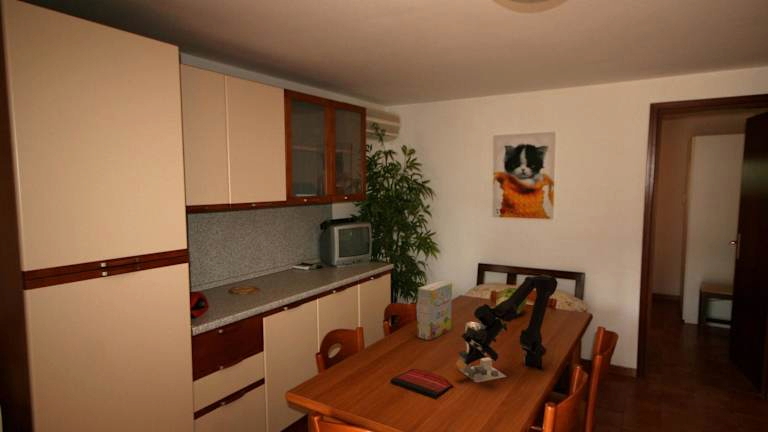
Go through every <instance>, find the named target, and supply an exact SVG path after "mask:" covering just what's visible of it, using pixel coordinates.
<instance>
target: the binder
mask: <svg viewBox="0 0 768 432" xmlns="http://www.w3.org/2000/svg"><path fill="white" fill-rule="evenodd" d="M391 383H392V384H391ZM390 384H391V385H393V386H397V387H399V386H400V387H399V388H403V389H405V390H408V391H411V392H414V393H418V394H420V395H422V396H423V395H424V396H425V397H429V398H431V399H435V400H437V396H439V395H440V394H441V395H444V394H445V393H447V392H449V390H451V389H452V388H453V387H454V385H453V384H452V383H451V382H449V380H448V379H446V378H445V377H443V376H441V375H438V374H436V373H435V374H434V373H431V372H429V371H426V370H421V369H418V368H411V369H409V370H407V371H405V372H403V373H401V374H398V375H396V376H394V377H392V378H390Z"/></svg>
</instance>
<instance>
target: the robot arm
mask: <svg viewBox="0 0 768 432" xmlns="http://www.w3.org/2000/svg"><path fill="white" fill-rule="evenodd" d="M558 282H559V281H558V280H557V278H556V277H554V276H550V275H547V274H542V273H541V274H539V275H537V276H535V275H532V276H530V275H529V276H526V277H525V278H524V281H523V282H521V284H520V285H519V286H518V287H517V288H516V289H517V290H516V291H515V292H514V293H513V294H512V295H511V296H510V297H509V298H508V299H507V300H505V301H502V302H501V303H500V304H498V305H497V306H496V305H495V307H493V308H492V309H491V308H490V307H491V306H490V305H489V304H488V303H484V304H483V305H481V306H478V307H477V308H476V309H475V310H474V312H473V313H474V314H473V315H474V317H475V318H476V319H477V321H478V320H479V321H480V322H481V323H482V324H483V325H484V326H485V328H484V329H482V328H481V329H478V330H475V329H473V328H470V327H468V328H467V331H466V333H465V332H463V334H462V335H461V336H460V337H461V339H463V340H464V341H465V343H466V342H467V343H468V345H469V352H468V355H467V358H466V361H465V363H466V364H467V365H471V364H472V363H475V362H477V361H478V360H479V361H480V359H483V358H487V355H488V356H489V358H490V359H492V361H494V362H497V361H498V359H499V354H498V353H497V352H496V350H495V349H494V348H493V347H491V345H492V344H493V343H496V342H497V339H496V338H497V337H498V335H500V333H501V331H502V330H503V331H505V332H507V331H508V328H507V324H508V323H510V322H512V321H513V319H514V318H515V317H516V316H517V315H518V314H517V309H518V307H519V305H520V304H521V303H522V302H523V301H524V300H525V299H526V300H527V298H528V297H529V295H530V294H531V293H532V292H533V291H534V289H535V293H536V297H535V300H534V304H533V306H532V311H531V314H530V319H529V323H528V326H527V327H526V329H522V330H521V332H520V336H519V344H520V346H521V350H522V351H525V353H524V355H523V364H524V366H528V367H531V368H536V369H537V370H540V371H541V370H544V368H543V357H544V356H546V354H547V349H546V348H545V347H544V345H543V344H542V341H543V337H542V332H541V330H542V325H543V322H544V318H545V314H546V311H547V307H548V303H549V300H550V297H552V295H554V294H555V292H556V290H557V287H558V284H559V283H558ZM516 314H517V315H516ZM496 318H497V319H496ZM479 321H478V322H479ZM502 321H503V322H502ZM505 322H506V323H505Z"/></svg>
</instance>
